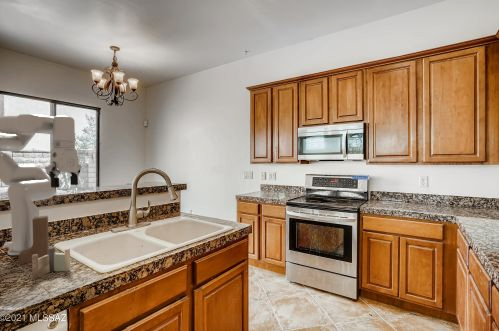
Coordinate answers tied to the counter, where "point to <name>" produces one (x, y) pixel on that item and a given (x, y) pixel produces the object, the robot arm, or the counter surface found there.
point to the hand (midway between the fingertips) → (65, 186)
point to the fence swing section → (62, 261)
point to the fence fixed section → (43, 263)
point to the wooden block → (37, 240)
